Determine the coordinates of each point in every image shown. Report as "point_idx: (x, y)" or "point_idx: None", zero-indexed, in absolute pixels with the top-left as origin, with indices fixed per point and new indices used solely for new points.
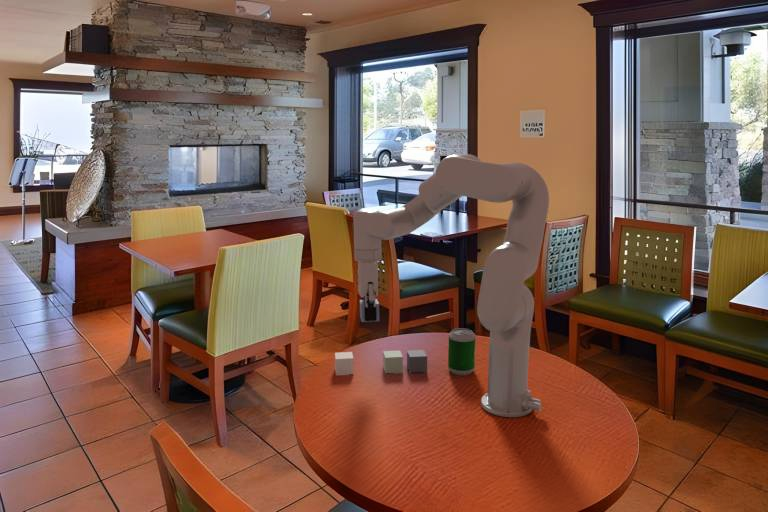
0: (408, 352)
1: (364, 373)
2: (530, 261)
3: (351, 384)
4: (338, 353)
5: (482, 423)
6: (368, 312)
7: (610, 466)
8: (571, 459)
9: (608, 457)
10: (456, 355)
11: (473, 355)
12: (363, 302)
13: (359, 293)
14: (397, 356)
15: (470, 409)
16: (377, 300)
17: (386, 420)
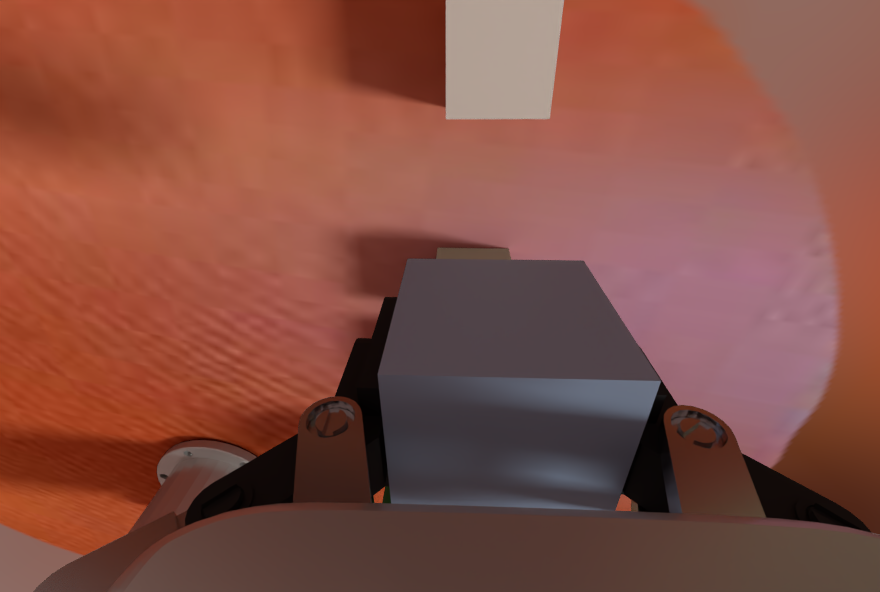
0: None
1: (454, 162)
2: None
3: (338, 88)
4: (543, 18)
5: (123, 419)
6: (344, 379)
7: (34, 526)
8: (32, 496)
9: (63, 533)
10: (389, 493)
11: None
12: (495, 412)
13: (395, 539)
14: None
15: (191, 415)
16: None
17: (52, 199)
